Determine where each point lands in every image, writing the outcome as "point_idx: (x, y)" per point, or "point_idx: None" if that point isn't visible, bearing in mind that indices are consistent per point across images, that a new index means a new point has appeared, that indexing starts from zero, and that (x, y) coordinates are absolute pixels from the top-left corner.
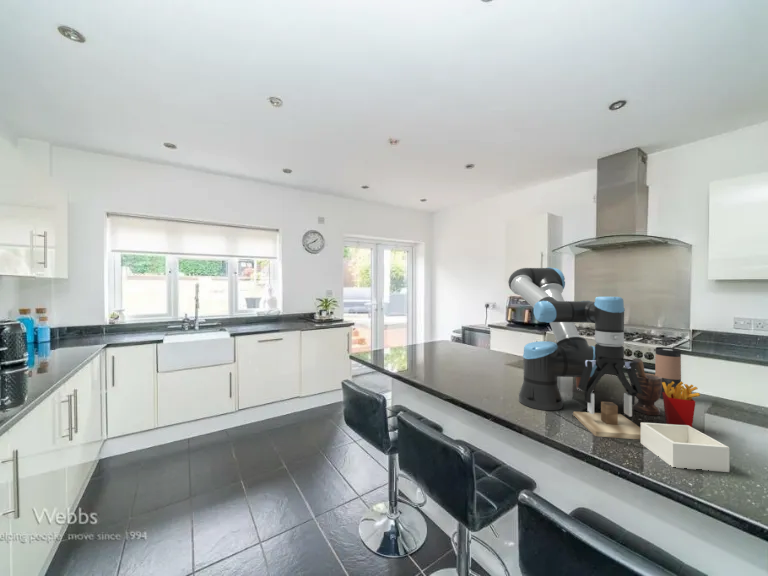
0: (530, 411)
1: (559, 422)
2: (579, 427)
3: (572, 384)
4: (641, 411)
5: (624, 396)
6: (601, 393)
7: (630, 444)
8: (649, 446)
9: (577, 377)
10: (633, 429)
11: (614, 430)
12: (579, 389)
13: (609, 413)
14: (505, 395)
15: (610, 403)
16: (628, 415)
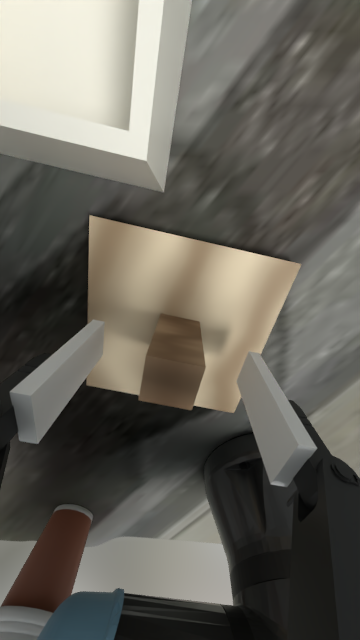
0: (341, 432)
1: (321, 365)
2: (286, 329)
3: None
4: None
5: (54, 416)
6: (45, 496)
7: (213, 184)
8: (172, 115)
9: (77, 565)
10: (128, 272)
11: (214, 268)
12: (90, 515)
13: (189, 340)
14: None
15: (161, 386)
16: (103, 327)
